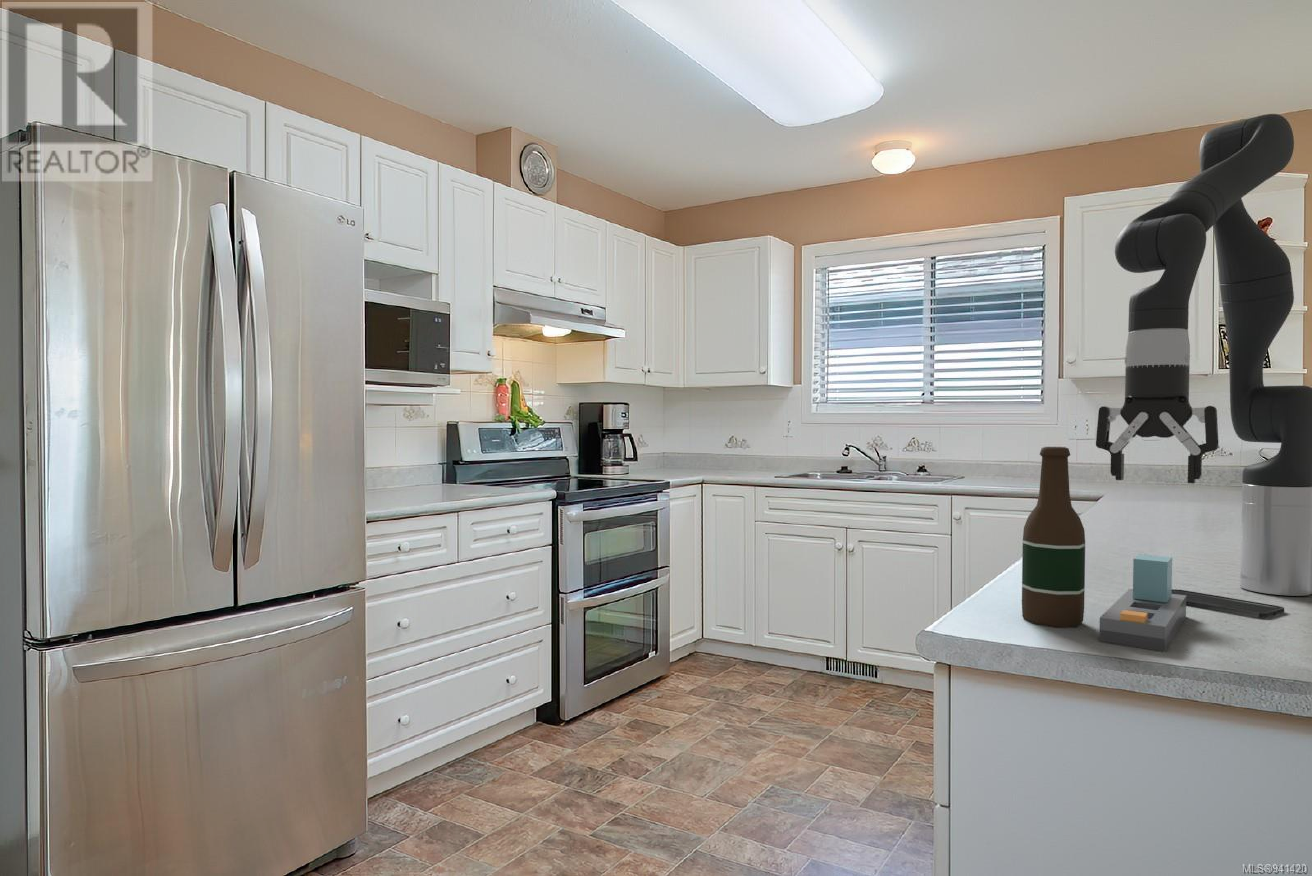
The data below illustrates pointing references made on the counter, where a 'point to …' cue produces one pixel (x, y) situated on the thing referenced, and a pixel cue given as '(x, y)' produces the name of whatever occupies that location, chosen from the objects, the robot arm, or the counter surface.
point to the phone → (1230, 605)
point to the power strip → (1142, 622)
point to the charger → (1152, 578)
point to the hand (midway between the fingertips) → (1154, 481)
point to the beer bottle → (1053, 550)
